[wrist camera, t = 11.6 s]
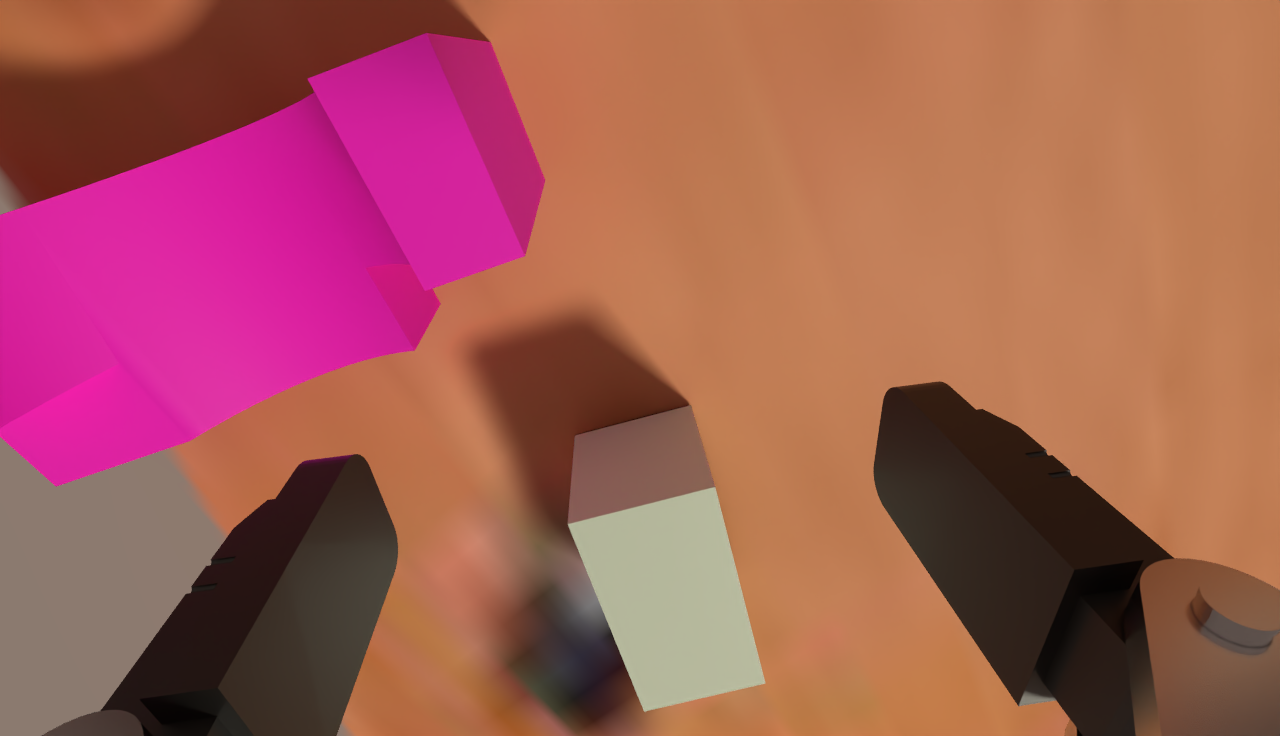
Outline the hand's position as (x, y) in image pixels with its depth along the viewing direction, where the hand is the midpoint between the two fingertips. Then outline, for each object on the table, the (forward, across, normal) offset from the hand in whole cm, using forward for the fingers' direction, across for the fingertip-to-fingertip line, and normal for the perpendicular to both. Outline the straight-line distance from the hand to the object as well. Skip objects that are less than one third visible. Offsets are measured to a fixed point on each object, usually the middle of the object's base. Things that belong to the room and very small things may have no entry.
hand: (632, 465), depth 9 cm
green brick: (+5, -1, +10) cm, 12 cm away
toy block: (+11, +9, -2) cm, 14 cm away
